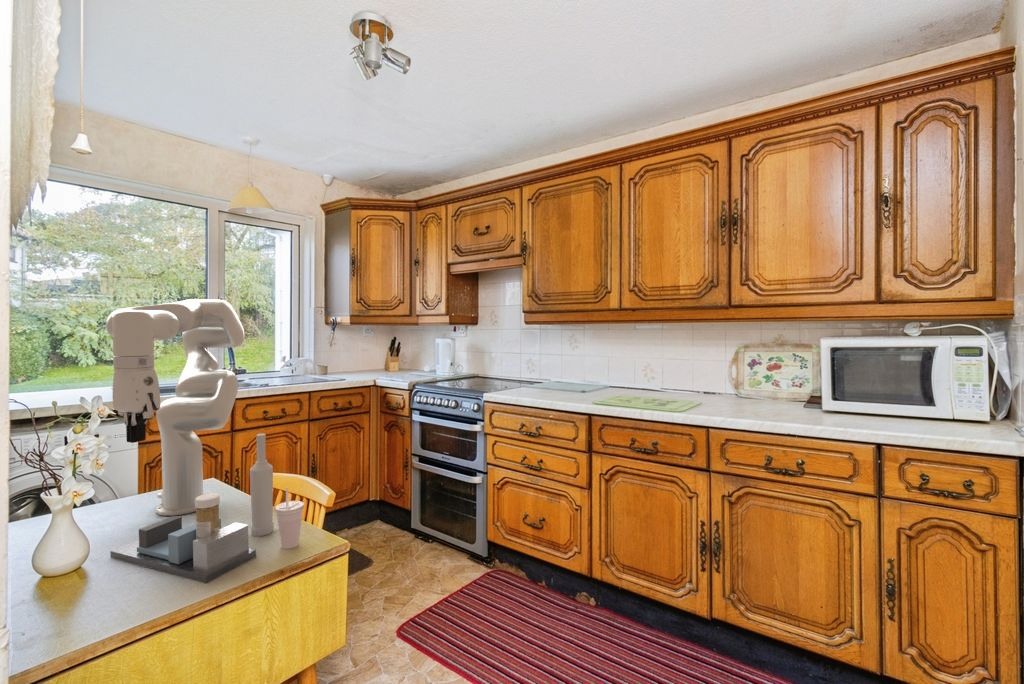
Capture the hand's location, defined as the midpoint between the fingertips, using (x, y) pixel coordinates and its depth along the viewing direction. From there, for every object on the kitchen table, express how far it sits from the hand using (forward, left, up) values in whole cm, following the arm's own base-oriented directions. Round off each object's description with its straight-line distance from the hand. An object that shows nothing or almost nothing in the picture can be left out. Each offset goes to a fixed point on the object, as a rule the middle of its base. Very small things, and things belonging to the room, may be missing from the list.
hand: (136, 441), depth 113 cm
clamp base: (+15, 0, -25) cm, 29 cm away
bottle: (+21, +16, -25) cm, 37 cm away
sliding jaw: (+14, 0, -23) cm, 27 cm away
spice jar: (+23, 0, -24) cm, 33 cm away
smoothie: (+33, +13, -25) cm, 44 cm away
